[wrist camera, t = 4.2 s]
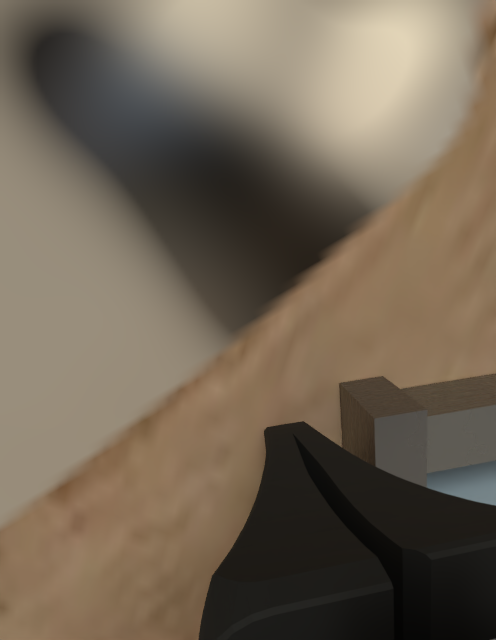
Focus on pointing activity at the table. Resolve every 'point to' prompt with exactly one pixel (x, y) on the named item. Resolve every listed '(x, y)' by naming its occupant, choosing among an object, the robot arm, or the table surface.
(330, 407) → the table surface
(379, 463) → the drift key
